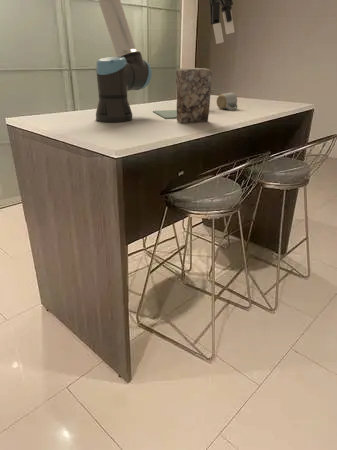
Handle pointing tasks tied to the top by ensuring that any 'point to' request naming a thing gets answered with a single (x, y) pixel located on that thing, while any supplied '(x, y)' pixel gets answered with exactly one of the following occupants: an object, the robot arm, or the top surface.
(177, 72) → the stone block
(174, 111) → the rubber mat
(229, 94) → the ceramic mug
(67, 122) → the top surface
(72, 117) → the top surface
